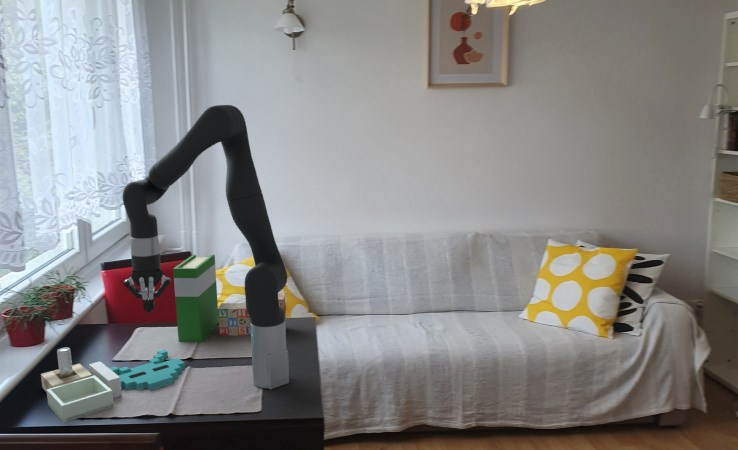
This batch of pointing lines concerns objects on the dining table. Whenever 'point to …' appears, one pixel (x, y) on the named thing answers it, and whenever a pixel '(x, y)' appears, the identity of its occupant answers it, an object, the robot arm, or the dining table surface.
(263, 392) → the dining table surface
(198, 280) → the hardback book
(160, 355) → the alien figure
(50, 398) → the tray
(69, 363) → the steel dowel
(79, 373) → the socket block
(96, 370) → the bar
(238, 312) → the stack of blocks
